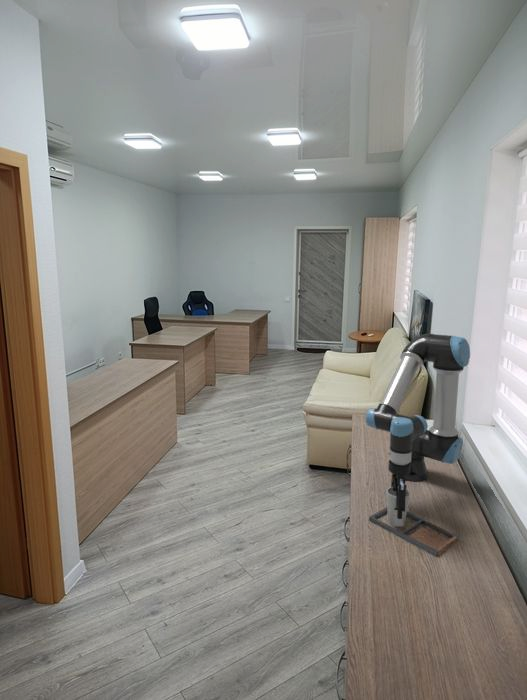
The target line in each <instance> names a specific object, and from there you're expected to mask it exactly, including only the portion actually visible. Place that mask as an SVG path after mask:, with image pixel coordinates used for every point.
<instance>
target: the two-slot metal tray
mask: <svg viewBox="0 0 527 700" xmlns="http://www.w3.org/2000/svg"><path fill="white" fill-rule="evenodd" d="M384 515H387V506H386V507H384V508H383V509H380V510H379V511H377V512H375V513H373V514H371V515H370V516H368V521H369V522H372V523H373V524H375V525H377V526H379V527H380V528H382V529H384V530H386V531H388V532H390V533H392V534H394V535H395V536H397V537H399V538H401V539H403V540H405V541H407V542H408V543H410V544H412V545H413V546H416V547H418V548H419V549H421V550H422V551H425V552H427V553H429V554H431V555H433V556H434V557H437V556H439V555H441V554H442V553H443V552H444V551H446V550H447V549H449V548H450V547H451V546H452V545H454V544H455V543H457V542H458V541H459V538H460V537H459V535H457V534H454V533H453V532H450V531H449V530H447V529H444V528H442V527H440V526H438V525H436V524H433V523H431V522H430V521H427V520H425V519H423V518H421V517H419V516H417V515H415V514H413V513H410V512H408V511H407V513H406V518H408V519H411V520H412V521H415V522H414V523H413V524H411V525H409V526H408V527H406V528H405V529H403V530H402V531H400V530H398V529H397V528H396V527H394V526H392V525H390V524H387V523H385V522H384V521H382V520H381V519H380V520H379V518H380V517H382V516H384ZM421 526H422V527H421ZM418 528H419V529H418ZM416 529H417V530H416ZM411 532H412V533H411ZM410 533H411V534H410Z"/></svg>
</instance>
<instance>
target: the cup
mask: <svg viewBox="0 0 527 700" xmlns="http://www.w3.org/2000/svg"><path fill="white" fill-rule="evenodd" d="M396 498H397V497H396V491H393V487H391V486H390V487H388V488H387V489H386V503H387V504H386V507H387V513H386V515H387V523H388V525H389V526H391V527H394V528H401V527H404V526H405V525H406V520H407V519H406V518H407V517H406V513H407V512H408V508H409V507H408V506H409V505H408V504H409V499H410V491H409V490H407V489H406V496H405V512H403V526H395V525H394V524H395V510H394V508H396Z"/></svg>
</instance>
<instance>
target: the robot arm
mask: <svg viewBox="0 0 527 700" xmlns="http://www.w3.org/2000/svg"><path fill="white" fill-rule="evenodd" d="M470 357H471V347H470V344H469V342H468V340H467V339H466V338H465V337H460V336H456V335H446V334H445V335H444V334H435V333H424V334H421V335H419V336H416V337H415V338H414V339H412V340H411V341H409V343H408V344H407V345H405V348H404V349H403V350H402V352H401V354H400V357H399V358H400V362H399V363H398V366H397V368H396V370H395V372H394V373H393V375H392V377H391V380H390V382H389V383H388V386H387V387H386V389H385V391H384V394H383V395H382V398H381V400H379V401H380V402H379V403H378V406H377V407H376V408H375V407H374V408H373V407H372V408H369V410H367V412H366V415H365V423H366V425H367V426H368V427H370V428H373V429H375V430H380V431H384V432H387V433H388V432H389V434H390V435H389V451H387V454H388V455H389V456H388V457H389V458H388V459H389V460H388V471H389V473H391V479H390V487H393V491H396V497H397V498H396V508H394V510H395V524H394V525H395V526H402V527H404V526H403V512H405V496H406V490H407V485H406V481H409V482H420V481H424V480H426V479H427V477H428V469H427V465H426V461H425V458H428V459H431V460H434V461H437V462H441V463H445V464H450V465H453V464H454V463H456V462H457V461H458V459H459V458H460V455H461V453H462V450H463V447H464V440H463V438H462V437H459V433H460V432H459V430H457V429H456V418H457V405H458V392H459V378H460V373H462V372H463V371H464V368H465V367H467V366H468V365H469V363H470ZM425 362H430V363H432V365H433V366H432V368H433V369H434V370H435V371H436V377H435V393H434V394H435V395H434V404H433V405H434V407H433V408H434V409H433V421H432V422H433V423H432V426H429V428H428V421H427V420H426V419H425V418H424V416H421V415H419V414H416V415H411V416H408V415H403V414H399V413H398V411H399V408H400V406H401V404H402V402H403V400H404V398H405V396H406V394H407V392H408V389H409V388H410V387H411V384H412V382H413V379H414V377H415V375H416V373H417V371H418V370H419V368H421V367H423V365H424V363H425ZM395 526H394V527H395Z"/></svg>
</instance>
